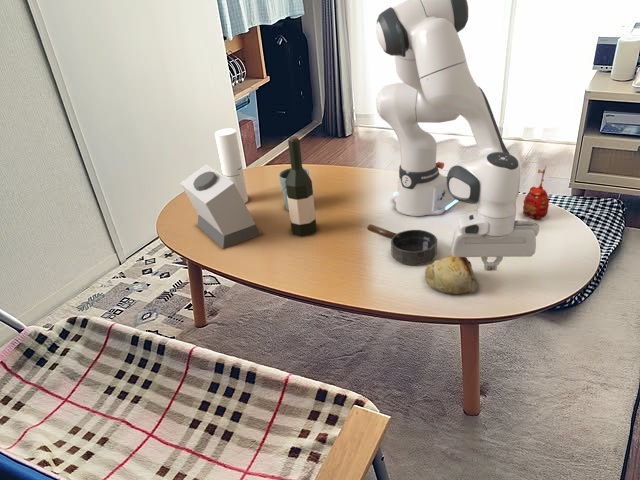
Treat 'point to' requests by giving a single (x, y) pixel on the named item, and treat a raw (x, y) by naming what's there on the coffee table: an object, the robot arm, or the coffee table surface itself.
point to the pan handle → (382, 231)
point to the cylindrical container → (231, 159)
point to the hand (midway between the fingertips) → (490, 269)
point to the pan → (414, 247)
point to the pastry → (451, 275)
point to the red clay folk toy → (536, 201)
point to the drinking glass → (283, 177)
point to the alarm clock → (219, 207)
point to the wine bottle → (299, 193)
